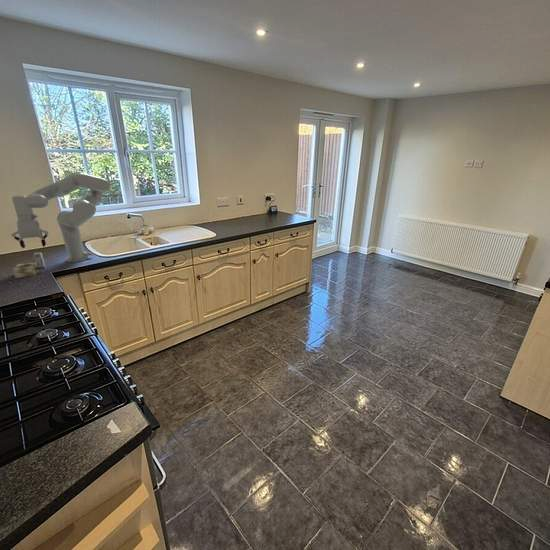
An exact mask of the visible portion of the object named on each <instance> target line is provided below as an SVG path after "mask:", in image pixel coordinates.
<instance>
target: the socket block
mask: <svg viewBox="0 0 550 550" xmlns="http://www.w3.org/2000/svg"><path fill="white" fill-rule="evenodd" d="M45 267H46V266H45ZM45 267H44V266H42V267H38V266H37V263H36V262H29V263H27V262H26V263H19V264H16V265H15V267H13V268H12V272H13V274H14V277H15V279H17V278H24V277H26V278H27V277H32V276H37V274H38V272H39V270H45V269H46V268H45Z"/></svg>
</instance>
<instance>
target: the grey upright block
mask: <svg viewBox="0 0 550 550" xmlns="http://www.w3.org/2000/svg"><path fill="white" fill-rule="evenodd" d="M32 255H33V259H34V261H35V262H36V263H37V266H38V267H42V266H44V267H46V263H45V260H44V256H43V253H42V251H41V252H33V254H32ZM35 262H34V263H35Z"/></svg>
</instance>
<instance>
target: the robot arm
mask: <svg viewBox="0 0 550 550" xmlns="http://www.w3.org/2000/svg"><path fill="white" fill-rule="evenodd" d="M80 188H85V189H88V190H89V191H88V193H87V194H86V195H84V196H83V197H82V198H80V199H79V200H77V201H76V202H75V203H74V204H73V205H72V210H61V211H60V212H59V213H58V214H57V217H56V220H57V221H56V222H57V223H58V226H59V228H60V231H61V234H62V235H61V236H62V238H63V243H64V246H65V250H66V253H67V257H66V258H65V260H66V262H68V263H76V262H82V261H86V260H89V256H93V255H94V253H93V252H92V251H89V252H87V251H86V250H85V248H84V245H83V239H82V236H81V231H80V229H79V227H81V226H83V225H84V224H85V223H86V222H88V221H90V219H91V218H93V217H94V216H95V215H96V212H97V208H96V207H97V206H98V205H99V204H100V203H101V202H102V200H103V198H104V195H103V194H104V193H107V192H109V191H110V189H111V184H110V182H109V181H108V179H105V178H102V177H98V176H95V175H90V174H87V173H84V172H74V173H72V174H69V175H67V176H66V177H64V178H62V179H60V180H58V181H56V182H53V183H51V184H48V185H46V186H44V187H41V188H39V189H36V190H34V191H33V192H31V193H30V194H28V195H22V194H21V195H13V196H12V198H11V199H12V203H13V206H14V209H15V213H16V214H15V215H16V217H17V221H16V226H17V230H16V231H15V232H13V233H11V237H12V238H14V240H16V241H18V242H19V245H20V247H21V248H22V249H24V248H26V245H25V241H24V240H23V239H29V238H31V239H32V238H39V239H41V240H40V241H41V244H42V245H41V246H42V247H43V248H44V247H45V246H46V245H47V243H46V238H47V237H48V236H49V233H50V232H49V231H47V230H45V229H42V228H41V226H40V224H39V221H38V215H37V214H34V210H33V208H34V209H43V208H44V209H45V208H46V207H48V205H49V201H51V200H52V199H56V198H61V197H65V196H67V195H69V194H71V193H73V192H74V191H76V190H78V189H80ZM36 218H37V219H36ZM43 233H44V235H43ZM17 235H18V236H17Z"/></svg>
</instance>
